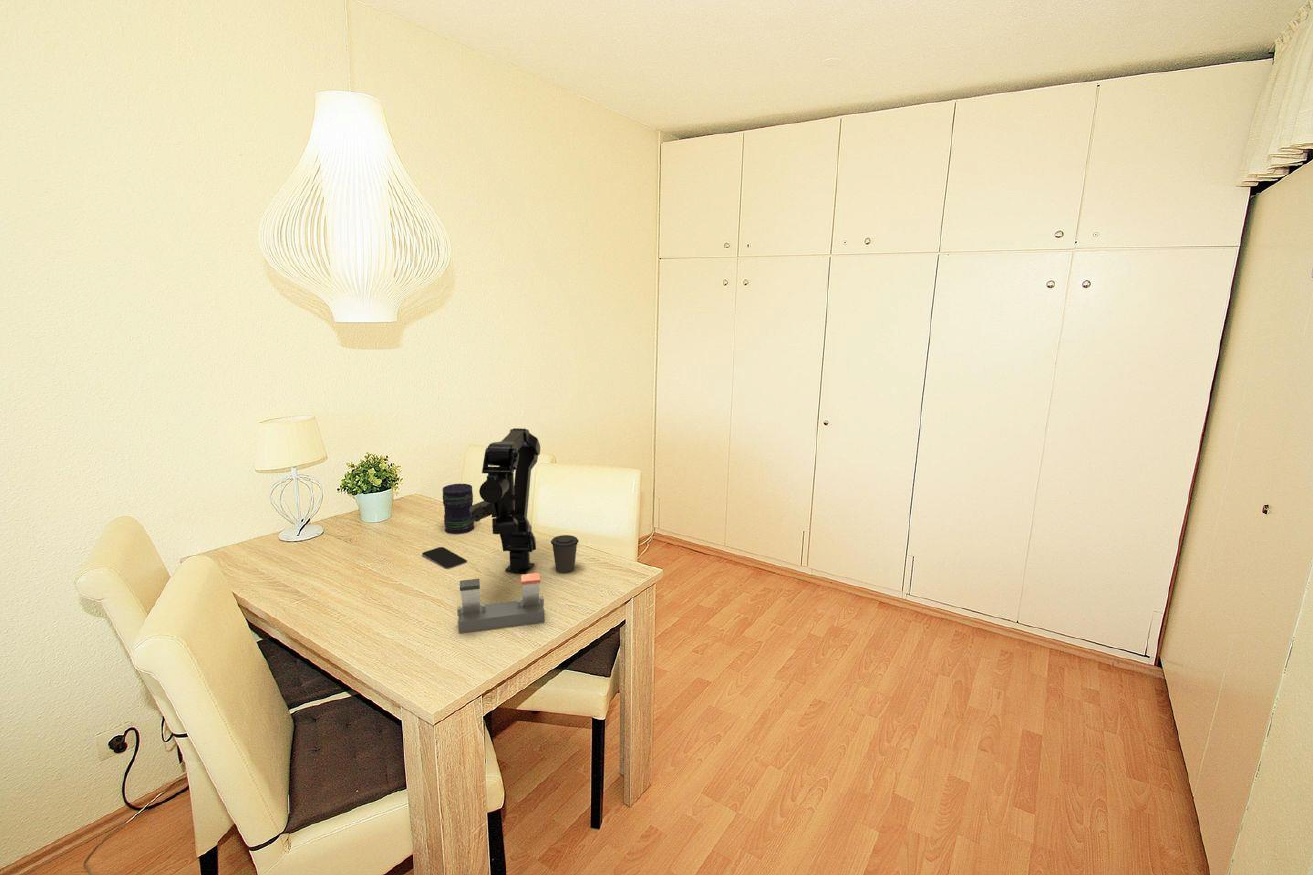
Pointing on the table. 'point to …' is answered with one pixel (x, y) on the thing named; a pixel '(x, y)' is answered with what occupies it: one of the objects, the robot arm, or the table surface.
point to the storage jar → (458, 508)
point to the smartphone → (444, 558)
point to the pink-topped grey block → (530, 589)
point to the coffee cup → (564, 552)
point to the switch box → (500, 616)
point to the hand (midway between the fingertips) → (505, 546)
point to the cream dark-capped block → (470, 595)
